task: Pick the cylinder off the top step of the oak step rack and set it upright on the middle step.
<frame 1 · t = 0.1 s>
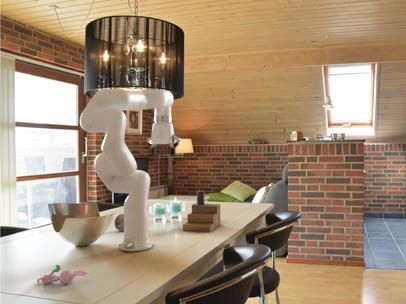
hand: (163, 156, 165), 37 cm above the table, tool pointing down, fingers open, 9 cm apart
step rack: (202, 227, 177), on the table
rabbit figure: (63, 283, 104), on the table
cylinder: (200, 204, 183), point 11 cm above the table, touching step rack
tin: (128, 229, 175), on the table
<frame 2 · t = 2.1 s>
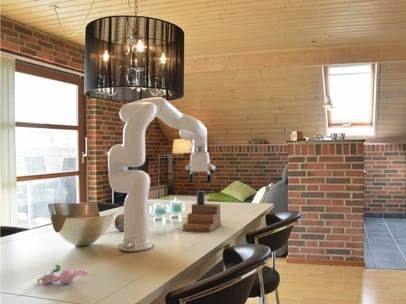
hand: (200, 182, 183), 23 cm above the table, tool pointing down, fingers open, 9 cm apart
nothing on the table moved.
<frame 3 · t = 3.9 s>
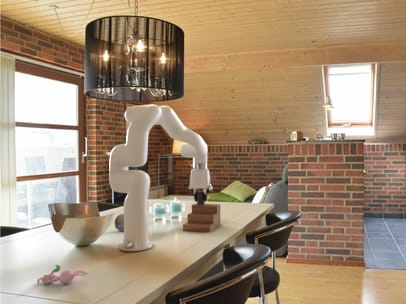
hand: (200, 201, 183), 13 cm above the table, tool pointing down, fingers closed on cylinder, 4 cm apart
cylinder: (200, 204, 183), point 11 cm above the table, touching gripper, step rack
everything else where it was.
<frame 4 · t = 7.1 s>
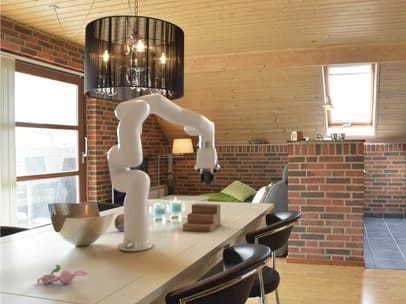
hand: (207, 181, 176), 24 cm above the table, tool pointing down, fingers closed on cylinder, 4 cm apart
cylinder: (207, 184, 176), point 22 cm above the table, touching gripper
everything else where it was.
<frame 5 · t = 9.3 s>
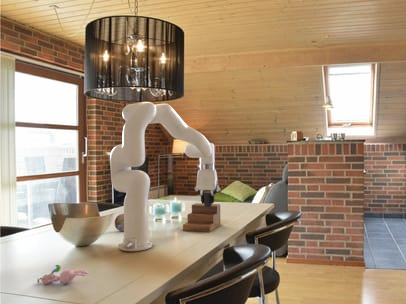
hand: (207, 202, 176), 13 cm above the table, tool pointing down, fingers closed on cylinder, 4 cm apart
cylinder: (207, 206, 176), point 11 cm above the table, touching gripper
everything else where it was.
when the fingers open (9 cm above the table, at t = 10.7 s): cylinder stays where it is, resting on step rack.
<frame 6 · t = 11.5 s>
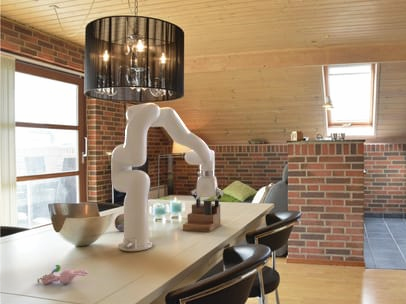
hand: (207, 207, 176), 10 cm above the table, tool pointing down, fingers open, 9 cm apart
cylinder: (207, 214, 176), point 7 cm above the table, touching step rack
everything else where it was.
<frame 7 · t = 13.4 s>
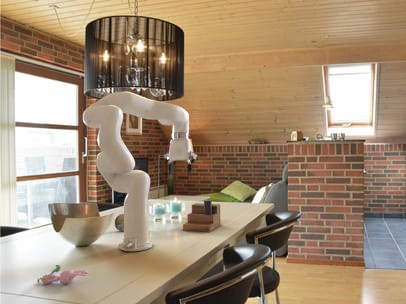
hand: (180, 172, 166), 29 cm above the table, tool pointing down, fingers open, 9 cm apart
nothing on the table moved.
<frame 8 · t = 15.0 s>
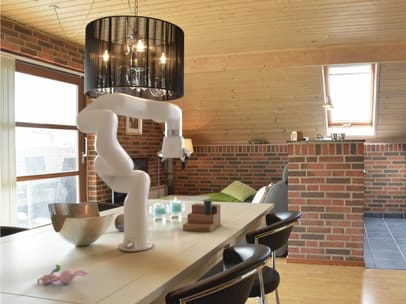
hand: (174, 170, 164), 30 cm above the table, tool pointing down, fingers open, 9 cm apart
nothing on the table moved.
at the end: cylinder inside the target area on the step rack (3.0 cm from its centre), point 7.0 cm above the step rack's base; cylinder tilted 0°; the gripper is holding nothing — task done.
